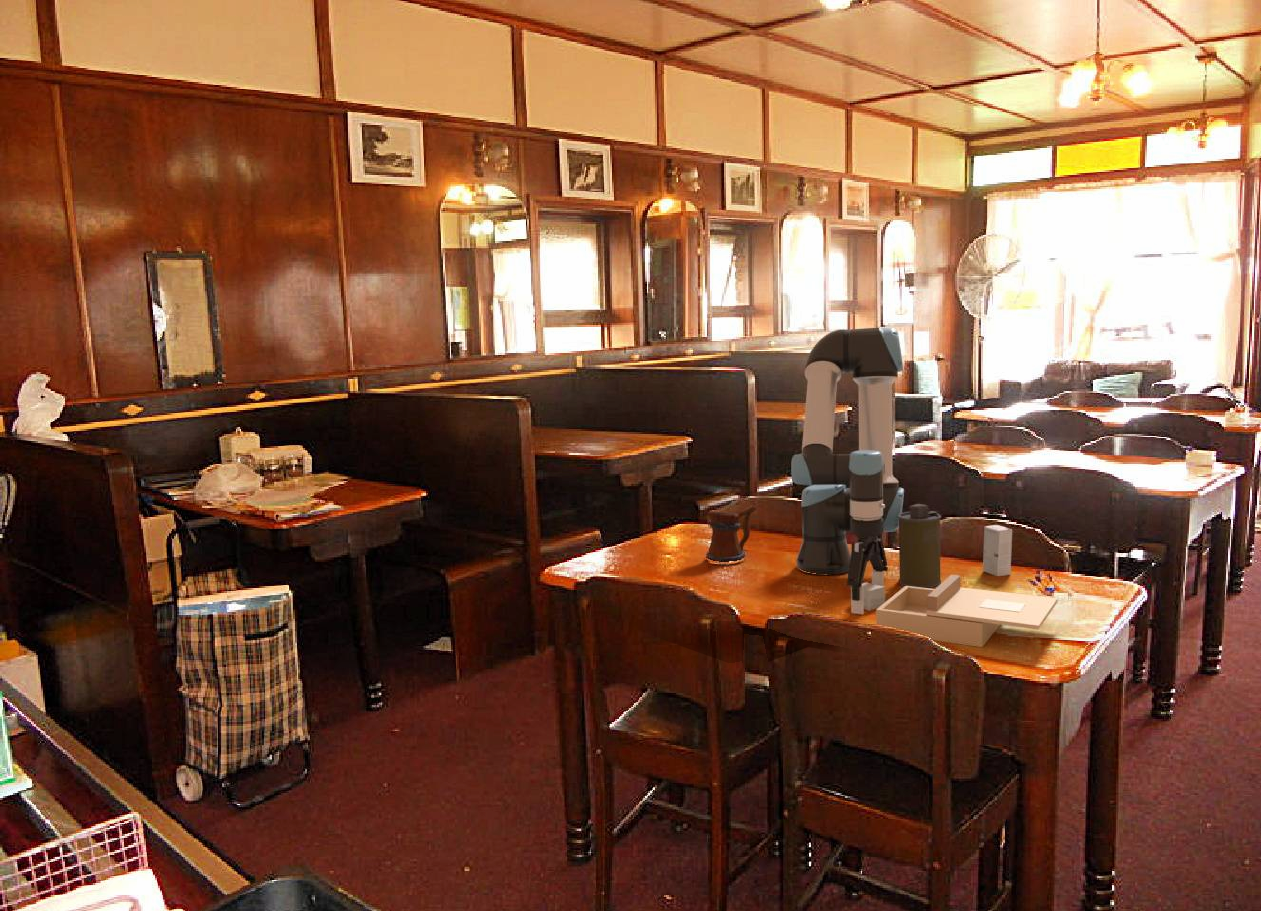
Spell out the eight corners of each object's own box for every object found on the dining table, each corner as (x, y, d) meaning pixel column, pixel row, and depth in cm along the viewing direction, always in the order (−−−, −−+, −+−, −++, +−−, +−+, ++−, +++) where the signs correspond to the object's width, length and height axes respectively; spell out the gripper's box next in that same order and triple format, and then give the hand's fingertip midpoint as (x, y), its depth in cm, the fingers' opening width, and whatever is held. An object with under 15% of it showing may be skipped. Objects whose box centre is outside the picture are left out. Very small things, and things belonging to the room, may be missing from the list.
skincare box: (982, 571, 244) (982, 526, 242) (996, 569, 245) (996, 524, 243) (997, 577, 238) (998, 530, 236) (1012, 574, 239) (1012, 528, 238)
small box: (885, 606, 219) (885, 586, 219) (869, 611, 216) (868, 590, 215) (867, 601, 224) (867, 581, 223) (850, 606, 221) (850, 585, 220)
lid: (925, 614, 195) (925, 597, 194) (952, 589, 211) (952, 573, 211) (1038, 629, 183) (1038, 610, 182) (1057, 601, 199) (1057, 584, 198)
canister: (919, 590, 230) (918, 511, 227) (889, 581, 239) (888, 504, 236) (951, 583, 235) (951, 505, 232) (921, 574, 244) (920, 499, 241)
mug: (741, 549, 280) (739, 500, 278) (769, 555, 271) (768, 505, 269) (697, 561, 269) (695, 510, 267) (725, 568, 260) (723, 515, 258)
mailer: (876, 631, 202) (876, 609, 201) (905, 606, 218) (905, 585, 217) (982, 647, 189) (982, 623, 189) (1004, 619, 206) (1004, 597, 205)
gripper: (863, 529, 205) (864, 622, 207) (900, 508, 225) (900, 593, 228) (830, 526, 209) (832, 617, 212) (869, 506, 229) (871, 590, 232)
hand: (868, 605), depth 220 cm, fingers open, 13 cm apart
